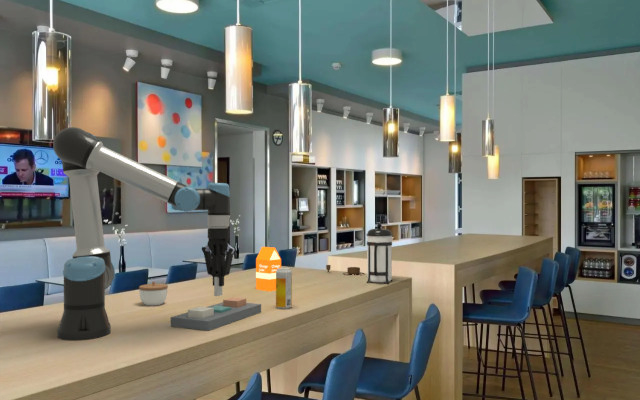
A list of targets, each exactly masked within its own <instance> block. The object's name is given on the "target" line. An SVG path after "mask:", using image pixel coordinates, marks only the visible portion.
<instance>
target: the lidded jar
mask: <svg viewBox="0 0 640 400" xmlns="http://www.w3.org/2000/svg"><path fill="white" fill-rule="evenodd" d="M168 287H169V286H168V284H165V283H156V281H151V283H147V284H142V285H139V287H138V289H139V298H140V301H141V302H142V304H143V305H144V306H147V307H152V306H153V307H154V306H155V307H156V306H161V305H163V304H164V303H165V301H166V299H167V298H168V297H167V296H168Z"/></svg>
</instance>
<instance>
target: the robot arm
mask: <svg viewBox="0 0 640 400" xmlns="http://www.w3.org/2000/svg"><path fill="white" fill-rule="evenodd" d="M52 145H53V151H54V154H56V156H57V158H59V160H61V163H62V172H63V174H64V175H65V176H66V177H68V179H69V180H68V181H69V182H68V183H69V189H70V197H71V198H70V199H71V208H72V209H71V210H72V217H73V226H74V234H75V244H76V250H75V252H74V253H73V254H72V255H71V256H72V258H70V259H68V260H66V261H65V262H64V266H63V270H62V273H63V312H62V315H61V319H60V321H59V326H58V327H57V330H56V332H57V336H56V337H57V338H58V339H60V340H64V341H85V340H93V339H97V338H98V339H99V338H102V337H106V336H108V335H109V334H111V331H112V325H111V323H110V322H109V317H108V313H107V310H106V308H105V307H106V305H105V304H106V301H105V300H106V295H105V294H106V292H105V291H106V289H108V288H109V287H110V286H111V285H112V283H113V281H114V279H115V276H116V275H115V273H116V271H115V269H116V268H115V266H114V264H113V262H112V255H111V250H110V249H109V248H107V247H106V246H105V237H104V230H103V229H104V228H103V220H102V210H101V201H100V200H101V199H100V193H99V191H100V190H99V183H98V175H99V174H100V172H101V173H102V174H105V175H106V176H109V177H111V178H113V179H115V180H116V181H117V180H118V181H119V182H122V183H123V184H126V185H129V186H131V187H133V188H135V189H137V190H139V191H142V192H143V193H146V194H147V195H151V196H153V197H154V198H157V199H159V200H161V201H163V202H165V203H168V204H170V205H171V207H172V210H174V211H182V212H183V211H184V212H192V211H207V227H209V228H208V229H207V239H208V241H207V244H206V245H205V246H202V247H201V251H202V253H203V256H204V261H205V266H206V272H207V275H210V276H211V277H212V287H213V288H214V289H213V296H214V297H220V296H223V286H225V276H229V275H230V271H231V266H232V263H233V258H234V254H235V252H236V251H237V249H236V248H235V247H232V246H231V243H230V238H231V237H230V235H231V234H230V231H231V230H230V228H229V227H230V222H231V221H230V219H231V218H230V217H231V216H230V213H231V212H230V211H231V210H230V209H231V203H230V202H231V191H230V185H229V184H228V183H226V182H225V183H224V182H210V183H208V184H207V188H194V187H191V186H188V185H186V184H185V183H182V182H179V181H177V180H176V179H173V178H171V177H170V176H167V175H165V174H163V173H161V172H158V171H157V170H154V169H153V168H150V167H148V166H146V165H144V164H142V163H141V162H140V163H139V162H137V161H136V160H134V159H131V158H130V157H126V156H125V155H123V154H121V153H119V152H116V151H114V150H112V149H110V148H108V147H106V146H104V144H103V142H102V141H101V140H99V139H98V138H96V136H95V135H94V134H92V133H90V132H88V131H86V130H84V129H82V128H80V127H74V126H72V127H71V126H70V127H66V128H64V129H61V130H60V131H59V132H58V133H57V134H56V135H55V136H54V139H53V144H52Z"/></svg>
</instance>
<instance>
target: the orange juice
mask: <svg viewBox="0 0 640 400" xmlns="http://www.w3.org/2000/svg"><path fill="white" fill-rule="evenodd" d="M278 268H282V258H281V256H280V254H279V253H278V251H277V249H276V247H274V246H273V247H270V246H261V248H260V249H259V253H258V254H257V256H256V258H255V270H256V271H255V289H256V290H259V291H265V292H274V291H275V292H276V271H277V269H278Z"/></svg>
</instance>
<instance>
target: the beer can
mask: <svg viewBox="0 0 640 400" xmlns="http://www.w3.org/2000/svg"><path fill="white" fill-rule="evenodd" d="M292 273H293V272H292V269H291V268H289V267H281V268H278V269H277V271H276V290H275V306H276V308H277V309H279V310H280V309H281V310H288V309H291V308H292V306H293V299H292V298H293V294H292V293H293V285H292V283H293V282H292V281H293V278H292V277H293V274H292Z"/></svg>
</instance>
